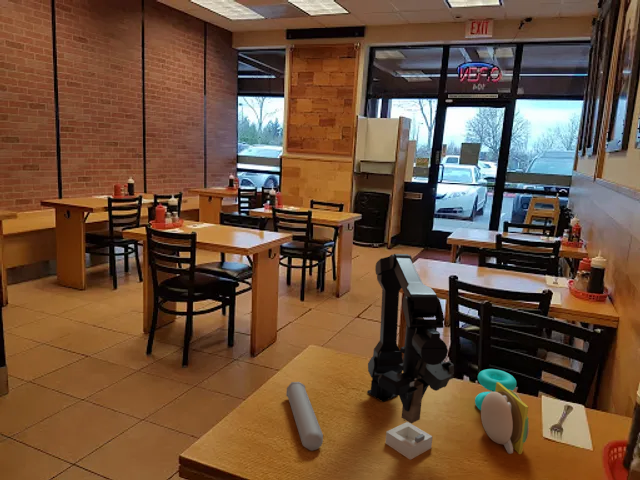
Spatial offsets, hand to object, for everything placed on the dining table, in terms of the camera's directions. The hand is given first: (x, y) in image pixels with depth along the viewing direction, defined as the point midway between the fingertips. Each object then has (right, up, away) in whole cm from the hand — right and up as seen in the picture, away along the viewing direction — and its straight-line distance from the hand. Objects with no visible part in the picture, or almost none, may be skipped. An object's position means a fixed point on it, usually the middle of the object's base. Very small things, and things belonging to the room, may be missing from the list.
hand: (411, 408), depth 111 cm
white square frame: (0, -9, +2) cm, 10 cm away
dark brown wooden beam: (0, -2, 0) cm, 2 cm away
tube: (-25, -7, +9) cm, 28 cm away
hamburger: (+23, -10, +6) cm, 26 cm away
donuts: (+27, -8, +21) cm, 34 cm away
